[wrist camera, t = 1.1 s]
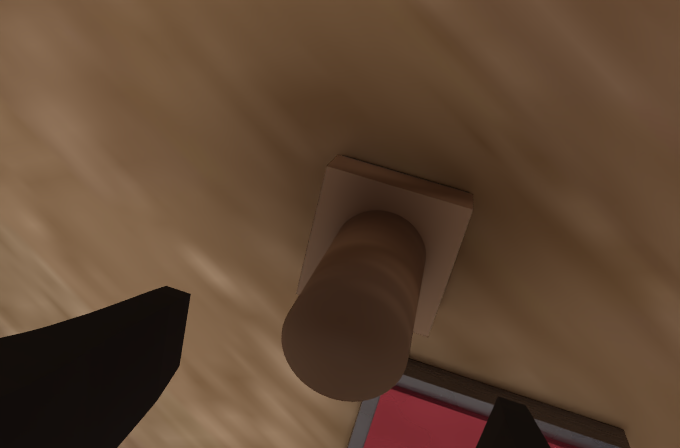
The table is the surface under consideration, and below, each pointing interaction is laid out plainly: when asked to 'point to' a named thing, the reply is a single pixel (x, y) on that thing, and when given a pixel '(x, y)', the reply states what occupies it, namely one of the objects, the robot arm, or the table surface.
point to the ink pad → (461, 415)
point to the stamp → (371, 277)
